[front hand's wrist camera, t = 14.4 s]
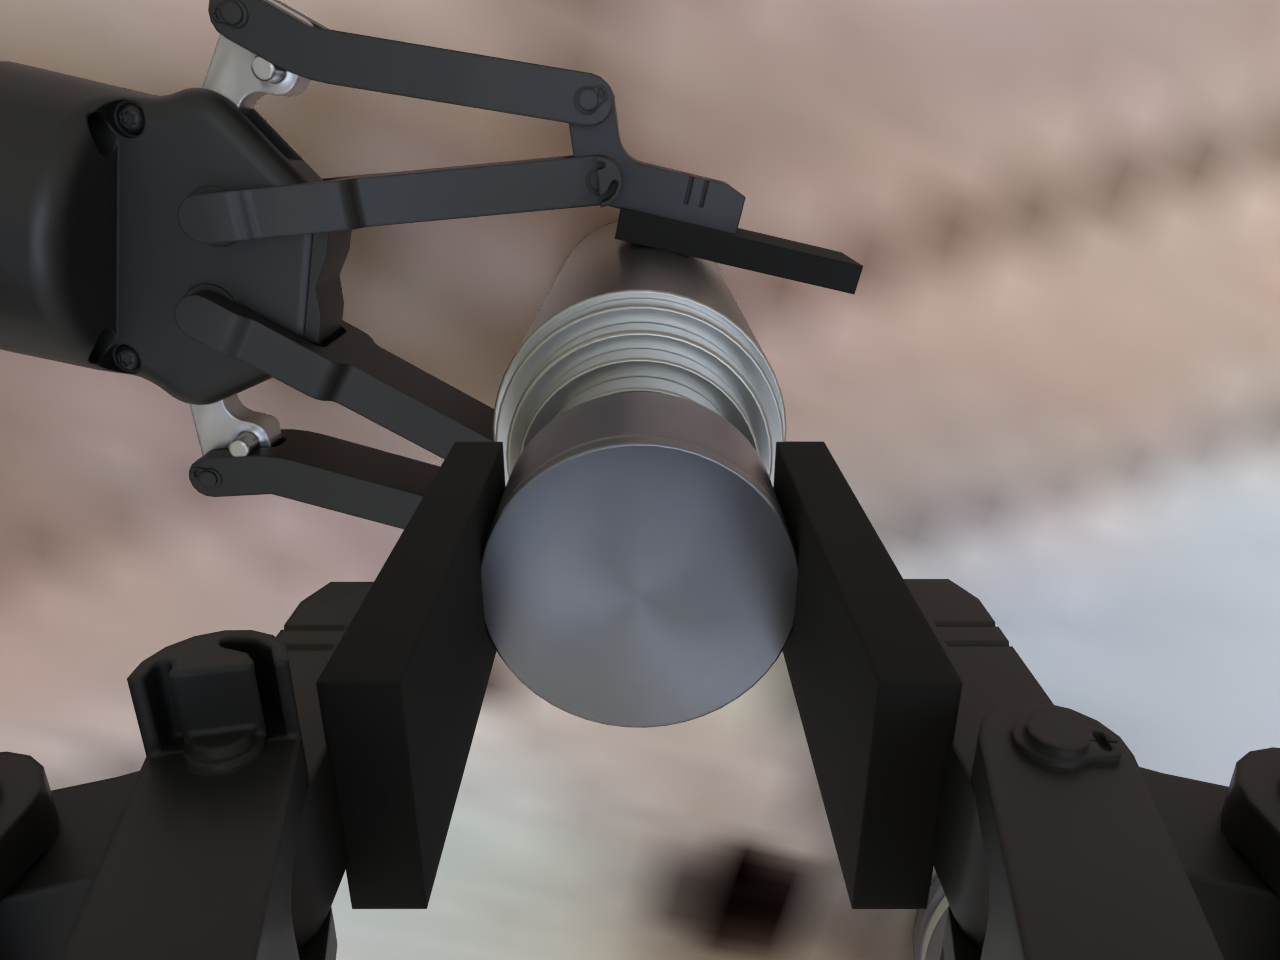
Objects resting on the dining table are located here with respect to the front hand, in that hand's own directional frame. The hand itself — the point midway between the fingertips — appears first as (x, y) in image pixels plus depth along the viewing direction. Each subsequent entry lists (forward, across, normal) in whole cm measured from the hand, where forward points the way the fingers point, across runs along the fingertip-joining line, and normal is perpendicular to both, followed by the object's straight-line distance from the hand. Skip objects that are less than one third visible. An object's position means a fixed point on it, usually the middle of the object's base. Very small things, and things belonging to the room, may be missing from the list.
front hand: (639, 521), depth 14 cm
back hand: (+12, -5, +1) cm, 13 cm away
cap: (-2, 0, 0) cm, 2 cm away
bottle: (+18, 0, 0) cm, 18 cm away
